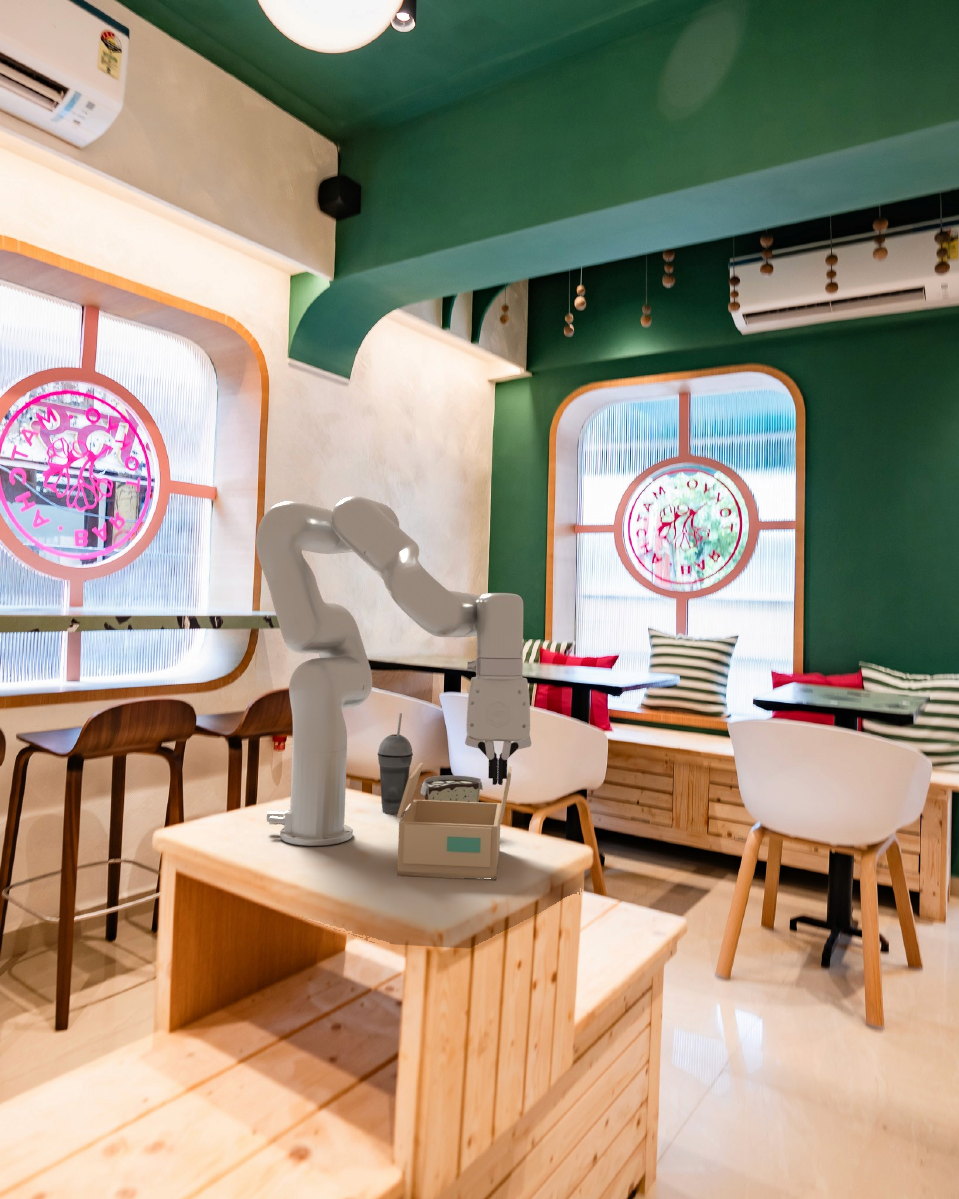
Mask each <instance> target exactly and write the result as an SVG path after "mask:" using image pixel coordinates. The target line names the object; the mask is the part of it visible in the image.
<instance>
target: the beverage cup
mask: <svg viewBox="0 0 959 1199" xmlns="http://www.w3.org/2000/svg"><path fill="white" fill-rule="evenodd" d="M402 717H403V713H401V712H399V716H398V722H397V725H398V726H397V733H396V734H389V735H388V736H386V737H384V738H383V739H382V741H381V742H380V745H379V747H378V751H377V757H378V760H377V761H378V765H379V773H380V774H379V776H380V777H379V778H380V796H381V797H380V798H381V800H380V801H381V802H380V803H381V810H382V811H383V812H382V813H384V812H385V813H384V814H388V813H389V814H390V815H397V814H398V811H399V808H400V804H401V801H402V798H403V795H404V791H405V788H406V785H407V781H408V778H409V776H410V769H411V765H412V760H413V755H414V754H413V753H414V752H413V748H412V744H411V742H410V741H409V739H408V738H407V737H405V736H404V735H402V734H400V733H401V728H402V727H401V725H402ZM389 814H388V815H389Z"/></svg>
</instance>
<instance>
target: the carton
mask: <svg viewBox="0 0 959 1199" xmlns="http://www.w3.org/2000/svg"><path fill="white" fill-rule="evenodd" d="M501 803H502V802H501ZM501 803H500V802H498V803H497V802H479V801H478V802H458V801H435V800H425V799H412V801H411V802H410V804H409V805H408V807H407V808H406V810H405V811H404V813H403V814H402V816H401V817H400V820H399V821H398V842H397V843H398V844H397V846H398V849H397V872H396V875H397V876H408V877H422V878H423V877H425V878H427V877H428V878H445V879H446V878H448V879H464V878H480V879H479V880H484V878H491V879H496V880H497V876H496V875H498V874H497V873H498V868H497V867H498V866H499V858H500V852H501V851H500V850H501V849H500V848H501V846H500V845H501V823H499V816H500V809H501Z"/></svg>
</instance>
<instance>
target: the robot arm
mask: <svg viewBox="0 0 959 1199" xmlns="http://www.w3.org/2000/svg"><path fill="white" fill-rule="evenodd" d="M255 547H256V553H257V557H258V560H259V564H260V566H261V569H262V572H263V575H264V577H265V581H266V582H267V586H268V589H269V593H270V598H271V601H272V604H273V608H274V611H275V614H276V615H275V616H276V618H277V619H276V620H277V622H278V626H279V628H280V629H279V630H280V632H281V636H282V639H283V641H284V643H285V646H286V647H287V648H288V649H289V650H291V651H293V653H294V652H295V653H298V654H318V656H319V657H317V658H311V659H308V660H305V661H304V662H302V663H300V664H299V665H297V667H296V668H295V669H294V670H293V672H292V674H291V676H290V680H289V685H288V693H289V694H288V695H289V702H290V708H291V716H292V718H291V719H292V746H291V747H292V753H291V757H292V758H291V774H290V775H291V776H290V779H291V780H290V781H291V782H290V801H289V802H290V805H289V807H290V808H289V810H285V812H281V811H280V812H279V811H275V810H274V811H272V810H269V811H267V814H266V823H268V824H269V825H281V826H282V827H283V828H281V830H280V832H279V838H280V839H281V840H282V841H283V842H285V843H288V844H291V845H298V846H304V847H305V846H308V847H309V846H310V847H314V846H316V847H317V846H319V847H320V846H330V845H331V846H332V845H336V844H342V843H345V842H346V841H349V840H351V839H352V838H353V836H354V834H353V833H354V829H353V828H352V827H351V826H349V825H347V824H345V818H346V817H345V816H346V814H345V812H346V811H345V810H346V785H347V760H348V759H347V758H348V732H347V726H346V725H347V724H346V721H345V717H344V713H343V710H344V709H351V708H354V707H358V706H360V705H361V704H363V703H364V702H366V700H368V698H369V696H370V694H371V691H372V688H373V675H372V669H371V665H370V663H369V659H368V656H367V652H366V648H365V645H364V642H363V639H362V636H361V633H360V630H359V627H358V624H357V621H356V619H355V618H354V615H353V614H352V613H351V612H350V611H349V610H348V609H347V608H346V607H344V606H342V605H341V604H337V603H334V602H326V601H325V600H324V599H323V597H322V594H321V593H320V590H319V587H318V583H317V579H316V576H315V574H314V571H313V570H312V568H311V566H310V564H309V563H308V561H307V560H306V559H305V557H304V555H303V553H302V552H303V551H304V552H310V553H317V554H321V555H322V554H325V555H327V554H328V555H335V554H336V555H337V554H345V553H346V554H347V553H355V554H356V556H358V557H359V558H360V559H361V560H362V561H363V562H365V564H366V565H367V566H368V567H370V568H371V570H372V571H374V572H375V573H376V575H378V576H379V577H380V578H381V579H382V580H383V583H384V586H385V588H386V589H387V592H388V594H389V596H390V597H391V599H392V600H393V601H394V602H395V604H396V605H397V606H398V607H399V608H400V609H401V610H402V611H403V612H404V613H405V614H406V615H407V616H408V617H409V618H411V619H412V621H413V622H414V623H416V624H417V625H418V626H419V627H420V629H423V630H424V631H425V632H427V633H428V634H431V635H432V636H434V637H439V638H470V637H476V659H474V660H471V661H467V664H466V665H467V667H466V668H467V670H468V671H474V673H475V674H476V675H475V676H473V677H471V679H470V683H469V689H468V696H467V697H468V698H467V709H466V737H465V741H464V744H465V745H466V746H468V747H472V748H476V749H479V751H481V752H482V754H484V755H485V757H486V758H487V760H488V777H487V778H488V780H489V779H490V780H491V779H492V785H493V786H494V785H495V786H496V785H499V786H502V785H503V784H504V783H503V782H504V780H506V779H507V774H508V759H509V758H510V757H511V756H512V755H513V754H514V753H515V752H516V751H518V750H521V749H526V748H530V747H531V746H532V739H531V735H530V734H531V733H530V732H531V704H530V703H531V701H530V700H531V699H530V691H529V684H528V679H527V677H523V668H524V667H523V662H524V659H523V658H524V655H523V654H524V653H523V651H524V600H523V599H522V597H521V596H520V595H519V594H516V593H508V592H489V593H488V592H487V593H483V594H481V595H479V594H474V593H467V592H461V591H455V590H448V589H447V588H446V587H444V586H443V585H442V584H441V583H440V582H439V581H438V580H437V579H436V578H434V577H433V576H432V575H431V574H430V573H429V572H428V571H427V570H426V568H424V567H423V565H422V564H421V563H420V561H419V556H420V547H419V545H418V543H417V542H416V541H415V540H414V539H413V538H412V537H410V536H409V534H407V532H405V531H404V530H403V529H402V528H401V527H400V521H399V519H398V516H397V515H396V512H395V511H394V510H393V509H392V508H391V507H389V506H388V505H386V504H384V503H382V502H378V501H376V500H372V499H369V498H366V497H361V496H349V497H345V498H343V499H342V500H340V501H339V502H337V503H336V504H335V506H334V507H333V509H329V508H328V509H327V508H323V507H319V506H317V505H316V506H315V505H313V504H309V503H305V502H300V501H283V502H280V503H277V504H275V505H273V506H272V507H270V508H269V509H268V510H267V511H266V512H265V514H264V516H262V518H261V519H260V522H259V525H258V528H257V531H256V538H255ZM495 742H503V744H502V751H501V752H500V754H499V757H498V756H497V752H496V751H495V744H494V743H495Z"/></svg>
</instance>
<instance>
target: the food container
mask: <svg viewBox="0 0 959 1199" xmlns="http://www.w3.org/2000/svg"><path fill="white" fill-rule="evenodd" d="M483 789H484V788H483V783H482V779H481V777H480V778H479V777H475V776H467V775H455V774H454V775H450V774H449V775H447V774H446V775H434V776H429V777H425V779H424V780H423V783H422V784H421V788H420V794H421V795H422V796H424V799H423V800H435V801H458V802H479V800H480V792H481V790H483Z"/></svg>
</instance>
